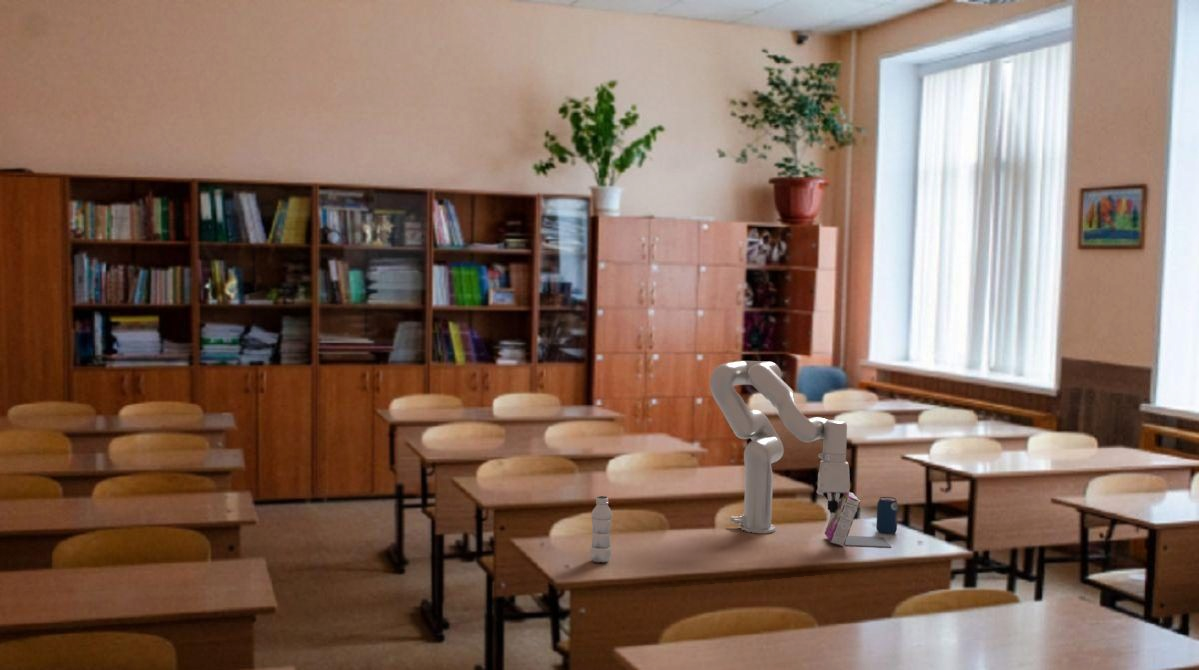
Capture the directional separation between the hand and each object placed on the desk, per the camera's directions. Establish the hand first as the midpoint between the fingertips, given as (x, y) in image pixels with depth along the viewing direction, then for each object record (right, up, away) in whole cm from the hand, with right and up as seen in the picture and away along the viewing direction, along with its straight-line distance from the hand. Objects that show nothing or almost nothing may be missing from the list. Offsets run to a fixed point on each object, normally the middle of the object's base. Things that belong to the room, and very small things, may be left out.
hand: (832, 512), depth 356 cm
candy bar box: (0, -10, +1) cm, 10 cm away
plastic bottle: (-77, -11, -29) cm, 83 cm away
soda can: (+22, -10, +16) cm, 29 cm away
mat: (+11, -11, +3) cm, 16 cm away
